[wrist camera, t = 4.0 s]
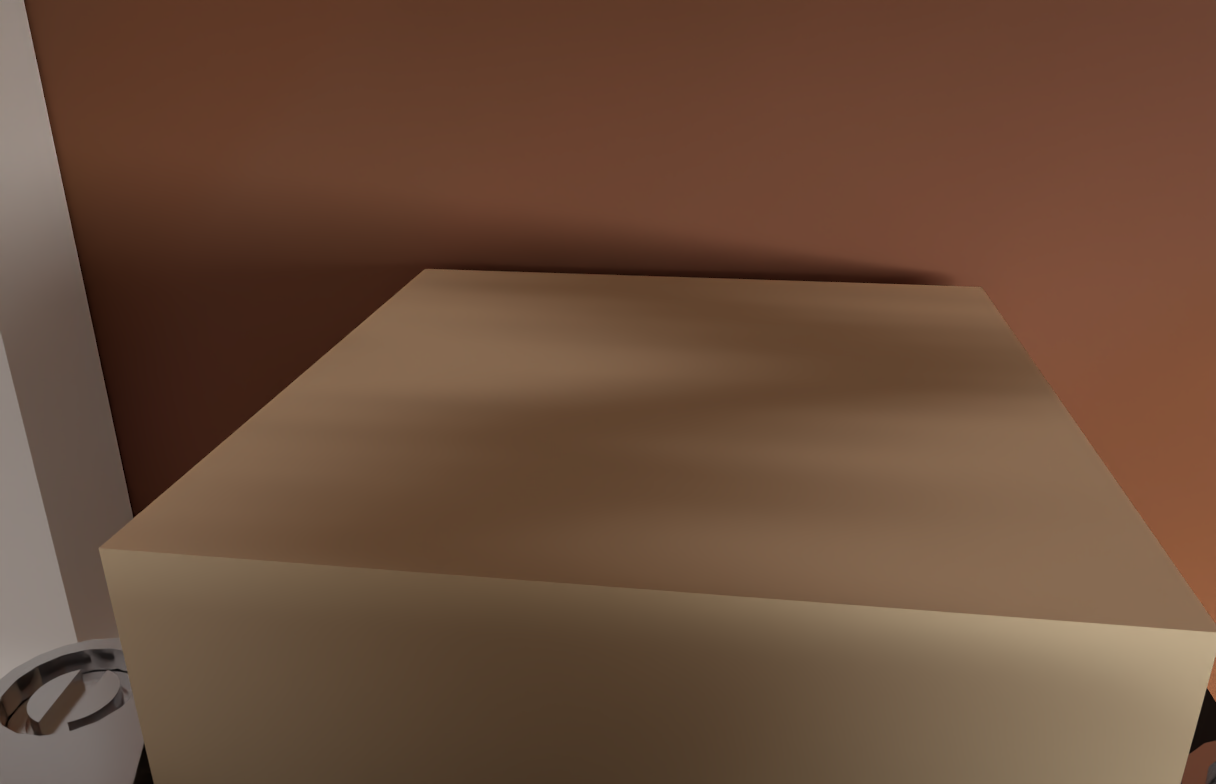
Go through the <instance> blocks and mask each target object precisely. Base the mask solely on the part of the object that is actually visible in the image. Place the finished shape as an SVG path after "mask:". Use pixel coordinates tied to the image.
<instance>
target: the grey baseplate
mask: <svg viewBox="0 0 1216 784" xmlns="http://www.w3.org/2000/svg"><path fill="white" fill-rule="evenodd" d="M132 519H133V514H132V510H131V505H130V500H129V495H128V491H127V486H126V481H125V476H124V472H123V467H122V462H121V458H120V453H119V448H118V443H117V439H116V434H115V429H114V424H113V420H112V415H111V410H110V406H109V401H108V396H107V391H106V387H105V382H104V377H103V372H102V368H101V363H100V358H99V354H98V349H97V344H96V339H95V335H94V330H93V325H92V321H91V316H90V311H89V306H88V302H87V297H86V292H85V287H84V283H83V278H82V273H81V269H80V264H79V259H78V254H77V250H76V245H75V240H74V235H73V231H72V226H71V221H70V217H69V212H68V207H67V202H66V198H65V193H64V188H63V183H62V179H61V174H60V169H59V165H58V160H57V155H56V150H55V146H54V141H53V136H52V132H51V127H50V122H49V117H48V113H47V108H46V103H45V98H44V94H43V89H42V84H41V80H40V75H39V70H38V65H37V61H36V56H35V51H34V46H33V42H32V37H31V32H30V28H29V23H28V18H27V13H26V9H25V4H24V0H0V679H1V678H3V677H4V676H5V675H6V674H8V673H9V672H10V671H11V670H13V669H14V668H16V667H18V666H20V665H21V664H23V663H25V662H27V661H29V660H30V659H32V658H34V657H36V656H38V655H40V654H43V653H46V652H48V651H51V650H54V649H56V648H59V647H62V646H65V645H69V644H73V643H78V642H83V641H87V640H92V639H110V638H120V637H119V633H118V629H117V625H116V620H115V616H114V612H113V608H112V603H111V599H110V595H109V591H108V586H107V582H106V578H105V574H104V569H103V565H102V561H101V556H100V552H99V547H100V546H102V545H103V544H104V543H105V542H106V541H107V540H109V539H110V538H111V537H112V536H113V535H114V534H116V533H117V532H118V531H119V530H120V529H121V528H123V527H124V526H125V525H126V524H127V523H128V522H130V521H131V520H132Z"/></svg>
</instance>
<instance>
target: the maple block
mask: <svg viewBox="0 0 1216 784" xmlns="http://www.w3.org/2000/svg"><path fill="white" fill-rule="evenodd" d="M99 552H100V556H101V561H102V565H103V569H104V574H105V578H106V582H107V586H108V591H109V595H110V599H111V603H112V608H113V612H114V616H115V620H116V625H117V629H118V633H119V637H120V642H121V646H122V650H123V655H124V659H125V663H126V667H127V672H128V676H129V680H130V684H131V689H132V693H133V697H134V701H135V706H136V710H137V714H138V718H139V723H140V727H141V731H142V735H143V740H144V744H145V748H146V753H147V757H148V761H149V765H150V770H151V774H152V778H153V782H154V784H1181V780H1182V777H1183V773H1184V769H1185V766H1186V762H1187V758H1188V755H1189V751H1190V747H1191V744H1192V740H1193V736H1194V733H1195V729H1196V725H1197V722H1198V718H1199V714H1200V711H1201V707H1202V703H1203V700H1204V696H1205V692H1206V689H1207V685H1208V681H1209V678H1210V674H1211V670H1212V667H1213V663H1214V659H1215V656H1216V624H1215V623H1214V621H1213V620H1212V618H1211V617H1210V615H1209V614H1208V612H1207V611H1206V610H1205V608H1204V607H1203V605H1202V604H1201V602H1200V601H1199V599H1198V598H1197V597H1196V595H1195V594H1194V592H1193V591H1192V589H1191V588H1190V587H1189V585H1188V584H1187V582H1186V581H1185V579H1184V578H1183V576H1182V575H1181V574H1180V572H1179V571H1178V569H1177V568H1176V566H1175V565H1174V563H1173V562H1172V561H1171V559H1170V558H1169V556H1168V555H1167V553H1166V552H1165V550H1164V549H1163V548H1162V546H1161V545H1160V543H1159V542H1158V540H1157V539H1156V538H1155V536H1154V535H1153V533H1152V532H1151V530H1150V529H1149V527H1148V526H1147V525H1146V523H1145V522H1144V520H1143V519H1142V517H1141V516H1140V514H1139V513H1138V512H1137V510H1136V509H1135V507H1134V506H1133V504H1132V503H1131V502H1130V500H1129V499H1128V497H1127V496H1126V494H1125V493H1124V491H1123V490H1122V489H1121V487H1120V486H1119V484H1118V483H1117V481H1116V480H1115V478H1114V477H1113V476H1112V474H1111V473H1110V471H1109V470H1108V468H1107V467H1106V466H1105V464H1104V463H1103V461H1102V460H1101V458H1100V457H1099V455H1098V454H1097V453H1096V451H1095V450H1094V448H1093V447H1092V445H1091V444H1090V442H1089V441H1088V440H1087V438H1086V437H1085V435H1084V434H1083V432H1082V431H1081V429H1080V428H1079V427H1078V425H1077V424H1076V422H1075V421H1074V419H1073V418H1072V417H1071V415H1070V414H1069V412H1068V411H1067V409H1066V408H1065V406H1064V405H1063V404H1062V402H1061V401H1060V399H1059V398H1058V396H1057V395H1056V393H1055V392H1054V391H1053V389H1052V388H1051V386H1050V385H1049V383H1048V382H1047V381H1046V379H1045V378H1044V376H1043V375H1042V373H1041V372H1040V370H1039V369H1038V368H1037V366H1036V365H1035V363H1034V362H1033V360H1032V359H1031V357H1030V356H1029V355H1028V353H1027V352H1026V350H1025V349H1024V347H1023V346H1022V345H1021V343H1020V342H1019V340H1018V339H1017V337H1016V336H1015V334H1014V333H1013V332H1012V330H1011V329H1010V327H1009V326H1008V324H1007V323H1006V321H1005V320H1004V319H1003V317H1002V316H1001V314H1000V313H999V311H998V310H997V308H996V307H995V306H994V304H993V303H992V301H991V300H990V298H989V297H988V296H987V294H986V293H985V291H984V290H983V288H982V287H970V286H939V285H908V284H877V283H847V282H816V281H785V280H754V279H723V278H692V277H662V276H631V275H600V274H569V273H538V272H507V271H477V270H446V269H424V270H423V271H422V272H421V273H420V274H418V275H417V276H416V277H415V278H414V279H412V280H411V281H410V282H409V283H408V284H407V285H405V286H404V287H403V288H402V289H401V290H400V291H398V292H397V293H396V294H395V295H394V296H393V297H391V298H390V299H389V300H388V301H387V302H386V303H384V304H383V305H382V306H381V307H380V308H379V309H377V310H376V311H375V312H374V313H373V314H372V315H370V316H369V317H368V318H367V319H366V320H365V321H363V322H362V323H361V324H360V325H359V326H358V327H356V328H355V329H354V330H353V331H352V332H351V333H349V334H348V335H347V336H346V337H345V338H344V339H342V340H341V341H340V342H339V343H338V344H337V345H335V346H334V347H333V348H332V349H331V350H330V351H328V352H327V353H326V354H325V355H324V356H322V357H321V358H320V359H319V360H318V361H317V362H315V363H314V364H313V365H312V366H311V367H310V368H308V369H307V370H306V371H305V372H304V373H303V374H301V375H300V376H299V377H298V378H297V379H296V380H294V381H293V382H292V383H291V384H290V385H289V386H287V387H286V388H285V389H284V390H283V391H282V392H280V393H279V394H278V395H277V396H276V397H275V398H273V399H272V400H271V401H270V402H269V403H268V404H266V405H265V406H264V407H263V408H262V409H261V410H259V411H258V412H257V413H256V414H255V415H254V416H252V417H251V418H250V419H249V420H248V421H247V422H245V423H244V424H243V425H242V426H241V427H240V428H238V429H237V430H236V431H235V432H234V433H233V434H231V435H230V436H229V437H228V438H227V439H225V440H224V441H223V442H222V443H221V444H220V445H218V446H217V447H216V448H215V449H214V450H213V451H211V452H210V453H209V454H208V455H207V456H206V457H204V458H203V459H202V460H201V461H200V462H199V463H197V464H196V465H195V466H194V467H193V468H192V469H190V470H189V471H188V472H187V473H186V474H185V475H183V476H182V477H181V478H180V479H179V480H178V481H176V482H175V483H174V484H173V485H172V486H171V487H169V488H168V489H167V490H166V491H165V492H164V493H162V494H161V495H160V496H159V497H158V498H157V499H155V500H154V501H153V502H152V503H151V504H150V505H148V506H147V507H146V508H145V509H144V510H143V511H141V512H140V513H139V514H138V515H137V516H135V517H134V518H133V519H132V520H131V521H130V522H128V523H127V524H126V525H125V526H124V527H123V528H121V529H120V530H119V531H118V532H117V533H116V534H114V535H113V536H112V537H111V538H110V539H109V540H107V541H106V542H105V543H104V544H103V545H102V546H100V547H99Z"/></svg>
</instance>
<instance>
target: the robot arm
mask: <svg viewBox="0 0 1216 784" xmlns="http://www.w3.org/2000/svg"><path fill="white" fill-rule="evenodd" d="M0 784H154V782H153V778H152V774H151V770H150V765H149V761H148V757H147V753H146V748H145V744H144V740H143V735H142V731H141V727H140V723H139V718H138V714H137V710H136V706H135V701H134V697H133V693H132V689H131V684H130V680H129V676H128V672H127V667H126V663H125V659H124V655H123V650H122V646H121V642H120V638H110V639H92V640H87V641H83V642H78V643H73V644H69V645H65V646H62V647H59V648H56V649H54V650H51V651H48V652H46V653H43V654H40V655H38V656H36V657H34V658H32V659H30V660H29V661H27V662H25V663H23V664H21V665H20V666H18V667H16V668H14V669H13V670H11V671H10V672H9V673H8V674H6V675H5V676H4V677H3V678H1V679H0ZM1181 784H1216V702H1215V700H1214V699H1213V697H1212V695H1211V694H1210V692H1209V690H1208V689H1206V692H1205V696H1204V700H1203V703H1202V707H1201V711H1200V714H1199V718H1198V722H1197V725H1196V729H1195V733H1194V736H1193V740H1192V744H1191V747H1190V751H1189V755H1188V758H1187V762H1186V766H1185V769H1184V773H1183V777H1182V780H1181Z"/></svg>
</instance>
